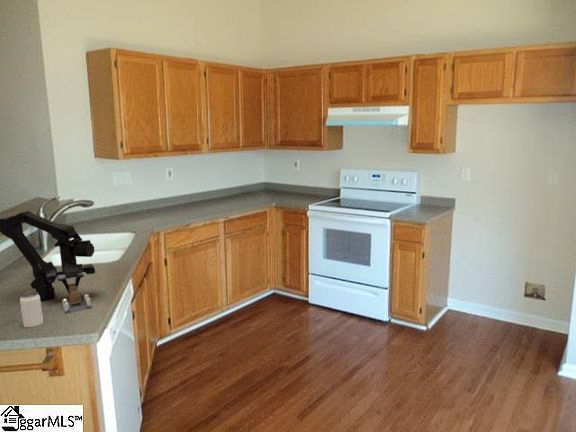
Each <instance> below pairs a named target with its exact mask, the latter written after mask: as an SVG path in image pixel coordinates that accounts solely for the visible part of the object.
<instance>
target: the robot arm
mask: <svg viewBox="0 0 576 432" xmlns="http://www.w3.org/2000/svg"><path fill="white" fill-rule="evenodd" d="M24 223H25V224H27V225H29V226H31V227H34V228H36V229H38V230H41V231H43V232H46V233H48V234H49V235H50V236H51V237H52V238H53V239H55V240H56V242H55V243H54V245H53V246H54V247H59V254H60V255H59V256H60V264H61V270H60V271H58V270H57V269H58V268H57V267H56V266H55V265H54V263H53V262H52V261H48V262H47V261H45V260H44V259H43V258H42V256H41V255H40V254H39V252H38V251H37V249H36V248H35V247H34V245H33V244H32V243H31V242H30V240H29V239H28V237H27V236H26V235H25V233H24V229H23V224H24ZM0 233H1V234H2V236H4V237H6V238H9V239H10V240H11V241H12V242H13V243H14V245H15V246H16V248H18V250H19V252H20V253H21V254H22V256H23V257H24V258H25V259H26V261H27V262H28V263H29V265H30V266H31V268H32V276H33V277H34V279H33V280H32V281H31V282H30V284H29V285H30V287H31V289H35V292H38V295H39V296H40V301H41V302H46V301H50V300H51V301H52V300H55V297H56V292H55V287H54V286H53V283H55V282H56V279H57V280H58V281H59V282H62V284H63V285H64V287H65V290H66V291H67V293H68V294H69V288H68V284H69V283H68V281H67V280H68V279H72V278H73V279H74V284H75V285H76V286H77V289H78V287H79V284H80V281H81V279H82V278H84V277H85V275H84V273H85V274H86V275H92V274H96V268H95V266H94V265H93V264H92V263H90V264H82V263H79V264H78V263H77V257H78V258H81V257H82V258H83V257H84V258H91V257H93V255H94V253H95V246H94V244H93V243H91V240H90V239H86V240H83V238H82V237H81V236H80V235H79V233H78V232H77V231H76V230H75V227H74V226H72V225H70V224H66V223H58V222H54V221H51V220H48V218H44V217H42V216H40V215H37V214H34V213H33V212H31V211H29V210H25V211H22V212H18V214H15V215H10V216H7V217H3V218H0Z"/></svg>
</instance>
